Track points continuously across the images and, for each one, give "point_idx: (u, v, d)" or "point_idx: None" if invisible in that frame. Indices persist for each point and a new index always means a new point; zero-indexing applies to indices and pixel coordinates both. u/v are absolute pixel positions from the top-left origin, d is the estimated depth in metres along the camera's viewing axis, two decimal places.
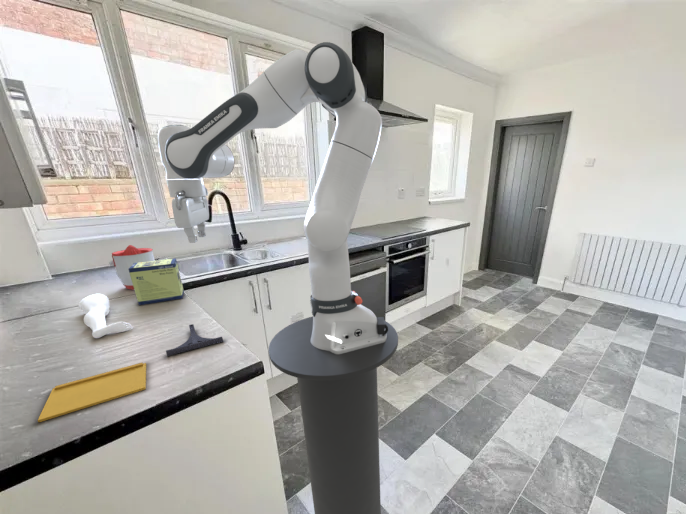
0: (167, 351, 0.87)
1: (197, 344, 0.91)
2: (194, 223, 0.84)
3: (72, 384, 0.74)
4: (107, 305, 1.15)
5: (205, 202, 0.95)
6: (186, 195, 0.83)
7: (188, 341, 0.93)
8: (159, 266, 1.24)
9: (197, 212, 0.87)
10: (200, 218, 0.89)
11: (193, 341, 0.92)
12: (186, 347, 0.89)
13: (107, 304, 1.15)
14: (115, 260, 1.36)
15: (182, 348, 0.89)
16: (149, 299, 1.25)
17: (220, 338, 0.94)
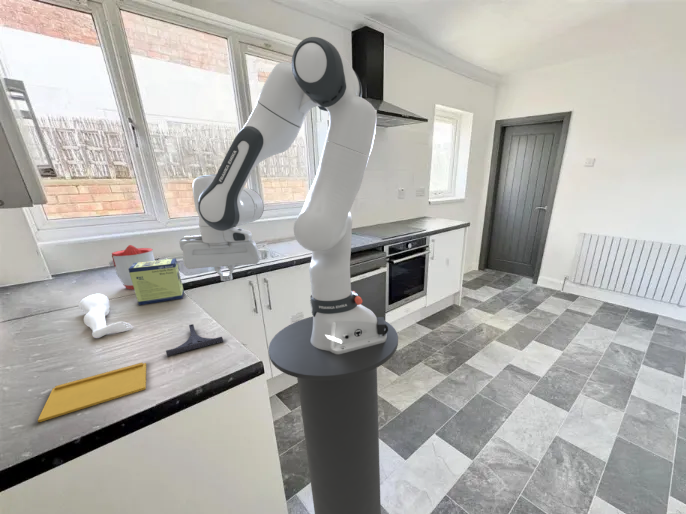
0: (167, 351, 0.87)
1: (197, 344, 0.91)
2: (197, 266, 0.88)
3: (72, 384, 0.74)
4: (107, 305, 1.15)
5: (248, 247, 0.90)
6: (202, 239, 0.88)
7: (188, 341, 0.93)
8: (159, 266, 1.24)
9: (213, 256, 0.89)
10: (221, 262, 0.90)
11: (193, 341, 0.92)
12: (186, 347, 0.89)
13: (107, 304, 1.15)
14: (115, 260, 1.36)
15: (182, 348, 0.89)
16: (149, 299, 1.25)
17: (220, 338, 0.94)
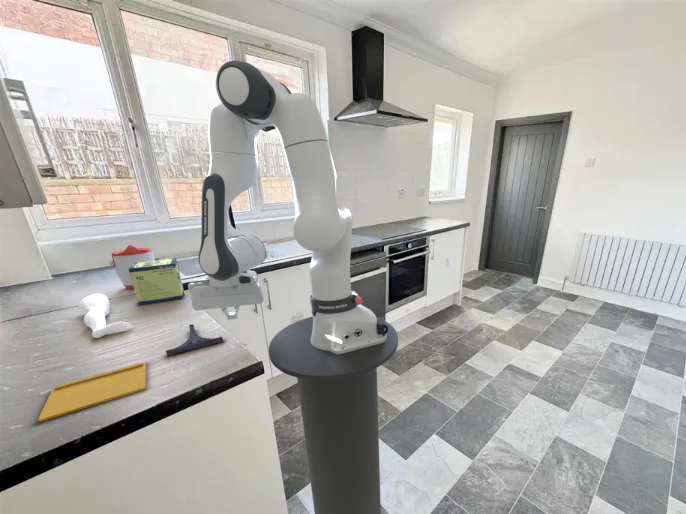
0: (167, 351, 0.87)
1: (197, 344, 0.91)
2: (205, 307, 0.93)
3: (72, 384, 0.74)
4: (107, 305, 1.15)
5: (253, 288, 0.94)
6: (209, 283, 0.92)
7: (188, 341, 0.93)
8: (159, 266, 1.24)
9: (220, 298, 0.93)
10: (228, 303, 0.94)
11: (193, 341, 0.92)
12: (186, 347, 0.89)
13: (107, 304, 1.15)
14: (115, 260, 1.36)
15: (182, 348, 0.89)
16: (149, 299, 1.25)
17: (220, 338, 0.94)
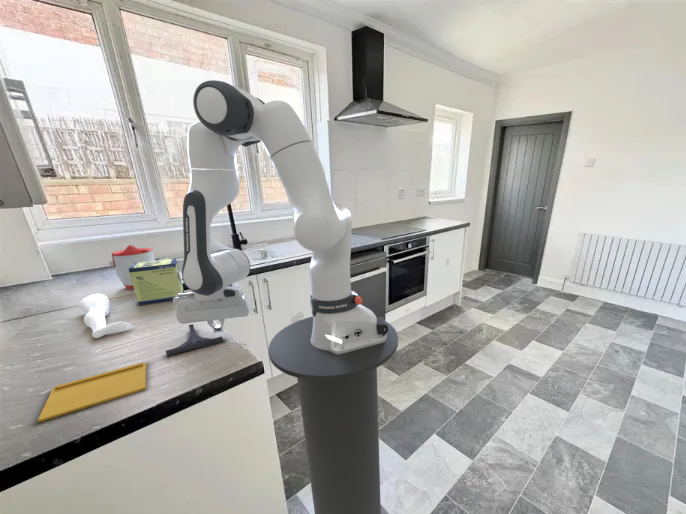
0: (167, 351, 0.87)
1: (197, 345, 0.90)
2: (190, 321, 0.93)
3: (72, 384, 0.74)
4: (107, 305, 1.15)
5: (238, 301, 0.94)
6: None
7: (188, 341, 0.93)
8: (159, 266, 1.24)
9: (205, 311, 0.93)
10: (213, 316, 0.94)
11: (193, 341, 0.92)
12: (186, 347, 0.89)
13: (107, 304, 1.15)
14: (115, 260, 1.36)
15: (182, 348, 0.89)
16: (149, 299, 1.25)
17: (220, 338, 0.94)
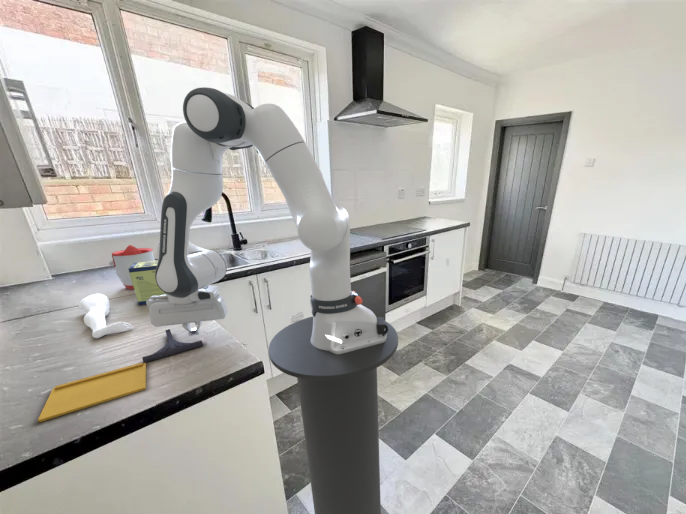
0: (143, 357, 0.84)
1: (175, 350, 0.88)
2: (164, 324, 0.91)
3: (72, 384, 0.74)
4: (107, 305, 1.15)
5: (214, 304, 0.93)
6: None
7: (165, 347, 0.90)
8: None
9: (180, 314, 0.91)
10: (188, 319, 0.92)
11: (171, 346, 0.89)
12: (164, 353, 0.86)
13: (107, 304, 1.15)
14: (115, 260, 1.36)
15: (159, 354, 0.86)
16: None
17: (200, 342, 0.92)
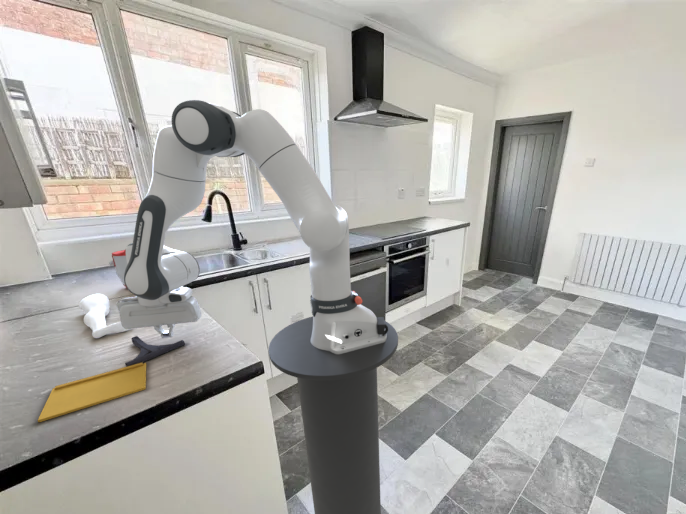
0: (128, 363, 0.81)
1: (159, 351, 0.87)
2: (135, 326, 0.90)
3: (72, 384, 0.74)
4: (107, 305, 1.15)
5: (186, 306, 0.91)
6: None
7: (144, 351, 0.88)
8: None
9: (151, 316, 0.90)
10: (160, 321, 0.91)
11: (151, 349, 0.88)
12: (148, 355, 0.85)
13: (107, 304, 1.15)
14: (115, 260, 1.36)
15: (144, 357, 0.84)
16: None
17: (181, 341, 0.92)
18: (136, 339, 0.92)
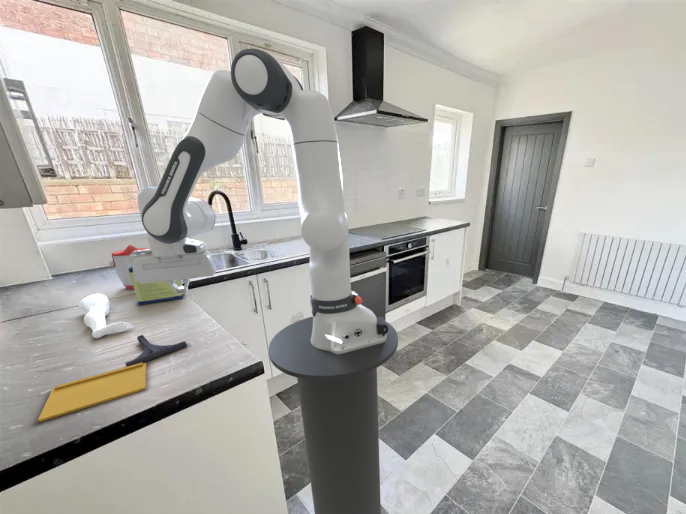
0: (128, 363, 0.81)
1: (160, 352, 0.87)
2: (149, 280, 0.86)
3: (72, 384, 0.74)
4: (107, 305, 1.15)
5: (201, 259, 0.88)
6: None
7: (146, 351, 0.88)
8: None
9: (165, 270, 0.86)
10: (174, 275, 0.87)
11: (153, 350, 0.88)
12: (148, 356, 0.85)
13: (107, 304, 1.15)
14: (115, 260, 1.36)
15: (144, 358, 0.84)
16: (149, 299, 1.25)
17: (183, 343, 0.92)
18: (141, 338, 0.93)
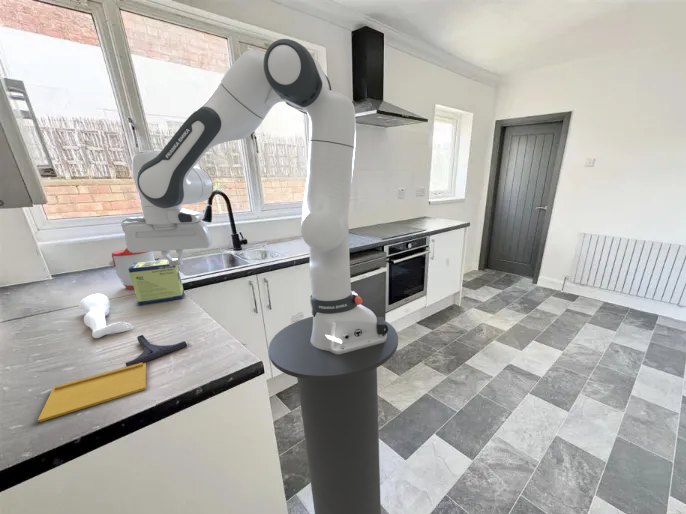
0: (128, 363, 0.81)
1: (160, 352, 0.87)
2: (142, 249, 0.83)
3: (72, 384, 0.74)
4: (107, 305, 1.15)
5: (196, 229, 0.85)
6: None
7: (146, 351, 0.88)
8: (159, 266, 1.24)
9: (159, 239, 0.84)
10: (168, 245, 0.85)
11: (153, 350, 0.88)
12: (148, 356, 0.85)
13: (107, 304, 1.15)
14: (115, 260, 1.36)
15: (144, 358, 0.84)
16: (149, 299, 1.25)
17: (183, 343, 0.92)
18: (141, 338, 0.93)
